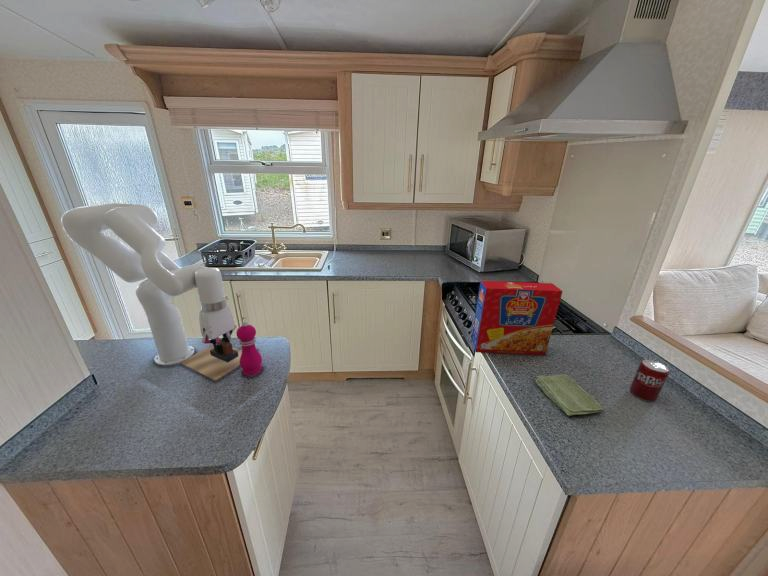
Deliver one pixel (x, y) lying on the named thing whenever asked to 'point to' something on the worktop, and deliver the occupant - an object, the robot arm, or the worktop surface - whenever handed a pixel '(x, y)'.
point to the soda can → (649, 380)
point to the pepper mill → (249, 350)
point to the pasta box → (515, 317)
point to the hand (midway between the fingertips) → (223, 350)
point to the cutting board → (211, 363)
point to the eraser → (225, 352)
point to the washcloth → (568, 395)
